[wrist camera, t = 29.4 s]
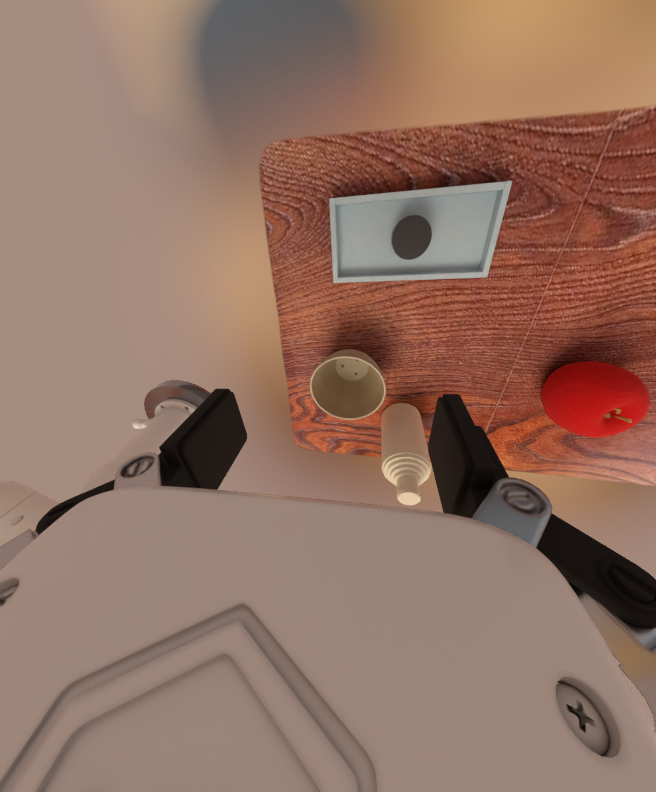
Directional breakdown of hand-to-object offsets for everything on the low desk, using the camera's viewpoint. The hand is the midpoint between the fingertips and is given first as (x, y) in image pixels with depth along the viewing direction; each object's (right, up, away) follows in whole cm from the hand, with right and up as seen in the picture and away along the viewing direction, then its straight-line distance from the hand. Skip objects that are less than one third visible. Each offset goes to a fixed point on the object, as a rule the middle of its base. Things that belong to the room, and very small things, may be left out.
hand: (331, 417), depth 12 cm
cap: (+9, +17, +15) cm, 24 cm away
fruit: (+33, +3, +23) cm, 40 cm away
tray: (+9, +19, +17) cm, 27 cm away
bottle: (+12, -3, +31) cm, 34 cm away
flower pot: (+4, +6, +28) cm, 28 cm away
